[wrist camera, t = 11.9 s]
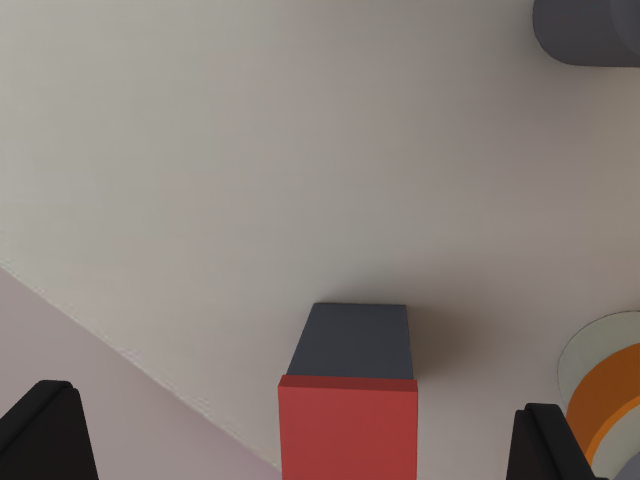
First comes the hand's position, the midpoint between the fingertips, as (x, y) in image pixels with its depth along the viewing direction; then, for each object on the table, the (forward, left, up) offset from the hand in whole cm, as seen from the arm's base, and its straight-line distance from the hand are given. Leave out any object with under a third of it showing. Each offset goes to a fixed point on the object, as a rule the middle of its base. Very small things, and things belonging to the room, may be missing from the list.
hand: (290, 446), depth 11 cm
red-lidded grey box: (+4, -6, -18) cm, 19 cm away
